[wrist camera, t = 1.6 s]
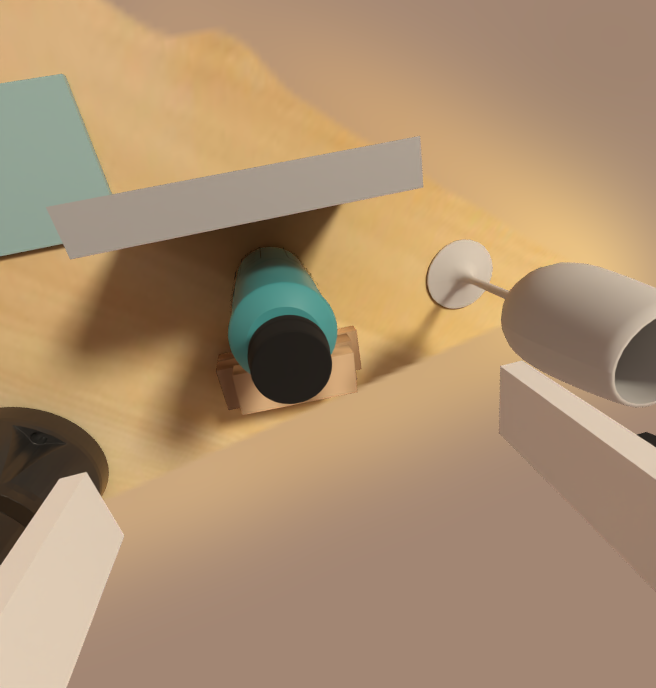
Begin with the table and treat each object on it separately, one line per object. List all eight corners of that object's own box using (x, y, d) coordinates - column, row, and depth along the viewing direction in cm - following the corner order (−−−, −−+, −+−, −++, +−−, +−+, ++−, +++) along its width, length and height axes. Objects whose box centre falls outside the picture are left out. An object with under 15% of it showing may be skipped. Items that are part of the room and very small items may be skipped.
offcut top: (243, 403, 36) (242, 415, 34) (233, 365, 34) (232, 375, 32) (352, 382, 37) (357, 392, 35) (348, 344, 35) (353, 352, 34)
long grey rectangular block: (150, 228, 31) (70, 259, 18) (140, 198, 30) (45, 207, 17) (353, 188, 33) (423, 187, 19) (349, 158, 32) (420, 135, 18)
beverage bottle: (225, 253, 33) (190, 330, 15) (295, 233, 34) (343, 284, 16) (249, 318, 36) (244, 449, 18) (314, 298, 36) (372, 407, 18)
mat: (-11, 258, 30) (-15, 259, 30) (-99, 101, 26) (-105, 100, 25) (126, 230, 31) (124, 231, 31) (65, 75, 27) (62, 73, 26)
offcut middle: (230, 399, 38) (228, 410, 36) (217, 361, 36) (215, 370, 34) (352, 370, 39) (357, 379, 37) (346, 333, 37) (351, 340, 35)
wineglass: (492, 300, 40) (706, 400, 21) (427, 316, 40) (588, 435, 21) (493, 230, 37) (744, 273, 18) (422, 246, 36) (605, 309, 17)
